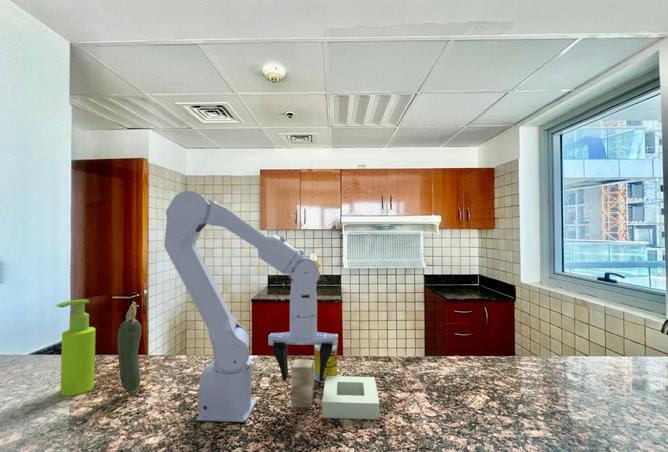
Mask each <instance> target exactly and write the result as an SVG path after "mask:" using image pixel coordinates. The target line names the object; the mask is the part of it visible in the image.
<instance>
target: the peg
mask: <svg viewBox="0 0 668 452" xmlns="http://www.w3.org/2000/svg"><path fill="white" fill-rule="evenodd" d="M313 400H314V359H294V361H293V364H292V366H291V407H292V408H312V406H313V405H312V404H313Z"/></svg>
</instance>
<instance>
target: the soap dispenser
mask: <svg viewBox="0 0 668 452" xmlns="http://www.w3.org/2000/svg"><path fill="white" fill-rule="evenodd" d="M89 303H90V300H89V299H86V298H83V299H73V300H68V301H64V302H61V303H58V304H56V307H57V308H65V307H68V306H74V313H73V314H71V315H70V316H69V329H67V330H65V331H63V332H62V333H61V359H60V360H61V361H60V362H61V363H60V367H61V368H60V395H61V396H63V397H71V396H72V397H73V396H77V395H81V394H84V393H87V392H88V391H91V390H92V389H93V388H94V387H95V367H96V366H95V365H96V363H95V362H96V328H95V327H94V326H90V314H89V313H87V312H85V310H86V309H85V306H86V305H85V304H89Z"/></svg>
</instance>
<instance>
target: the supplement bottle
mask: <svg viewBox="0 0 668 452" xmlns="http://www.w3.org/2000/svg"><path fill="white" fill-rule="evenodd" d="M320 347H321V345H314V347H313V348H314V349H313V350H314V351H313V353H314V355H313V357H314V358H313V360H314V362H313V379H314V380H315V381H316V382H318V383H323V384H325V379H326V376H338V375H337V374H338V346H333V347H332V352H331V355H330V357H329V359H328V361H327V364H326V367H325V370H324V378H323V382H319V375H320Z"/></svg>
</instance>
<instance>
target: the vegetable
mask: <svg viewBox="0 0 668 452" xmlns="http://www.w3.org/2000/svg"><path fill="white" fill-rule="evenodd" d="M136 315H137V302H135V301H134V300H133V301H132V303H131V304H130V306H129V308H128V310H127V312H126V316H125V319H126V320H124V321H123V322H122V323H121V324H120V325H119V328H118V331H117V332H118V333H117V352H118V353H117V355H118V357H117V358H118V369H119V371H118V372H119V378H120V382H121V385H122V389H124V390H125V391H126V392H127V393H129V394H132V393H137V392H138V390H139V389H140V383H141V376H140V375H141V374H140V365H139V348H140V342H141V337H142V324H141V323H140V321H139V320H137V319H136Z"/></svg>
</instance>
